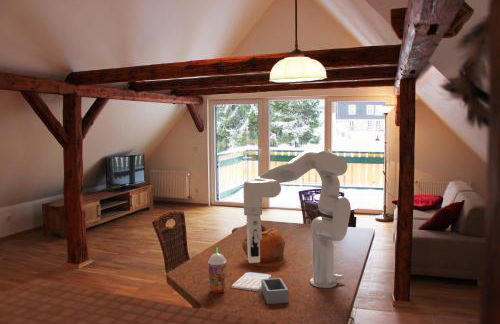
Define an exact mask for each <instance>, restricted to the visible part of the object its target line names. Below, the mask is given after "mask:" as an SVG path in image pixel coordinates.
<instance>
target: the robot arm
mask: <svg viewBox="0 0 500 324" xmlns="http://www.w3.org/2000/svg"><path fill="white" fill-rule="evenodd" d="M313 169H314V170H315V171H316V172H317V174H318V175H319V177H320V180H321V188H320V194H319V199H318V206H317V207H318V211H319V212H320V214H321V213H322V214H323V215H327V216H331V217H326V216H317V217H315V218H314V219H312V221H311V224H310V231H311V236H312V246H313V247H312V248H313V250H312V252H313V253H312V260H313V261H312V262H313V263H312V268H313V269H312V271H313V272H312V274H313V275H312V276H313V277H312V278H310V280H309V284H310V285H311V286H314V287H316V288H320V289H329V288H334V287H336V286H337V285H338V280H344V279H345V275H344V274H339V273H334V272H335V270H334V268H335V267H334V266H335V261H334V260H335V258H334V257H335V255H334V252H335V247H334V243H333V241H334V242H342V241H343V240H344V239H345V237H346V235H347V231H348V227H349V222H350V218H351V212H352V208H351V202H350V200H349V199H348V198H347V197H345V196H341V195H340V191H341V189H340V188H341V183H340V180H339V179H340V178H339V176H340V177H341V176H343V175H344V174H346V172H347V170H348V163H347V161H346V159H345V158H343V157H342V156H339V155H337V154H334V153H331V152H330V151H326V150H323V149H306V150H304V151H302V152H301V153H300V154H298V155H296V156H295V157H293V158H292V159H291V160H289V161H288V162H285V163H284V164H280V165H279V166H276V167H274V168H271V169H269V170H267V171H264V172H263V173H262V174H260V175H259V176H257V177H256V178H255V179H254V180H246V181H244V182H243V215H244V216H246V233H247V232H248V234H249V238H250V240H251V257H257V256H259V246H258V238H259V239H260V240H261V239H262V231H261V224H262V219H261V216H262V215H263V198H267V199H268V198H269V199H270V198H276V197H278V196H279V195H280V194H281V191H282V186H281V184H283V183H289V182H290V183H291V182H294V181H296V180H299V179H300V178H301V177H302V176H304V175H305V174H306V173H308V172H309V171H311V170H313ZM252 238H254V239H252ZM253 241H254V242H253Z"/></svg>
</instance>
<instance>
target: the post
mask: <svg viewBox="0 0 500 324" xmlns="http://www.w3.org/2000/svg"><path fill="white" fill-rule="evenodd" d="M246 235H247V236H246V237H247V247H248V258H247V262H248V261H249V262H248V263H249V264H250V263H256V262H260V239H259V238H258V246H259V256H257V257H251V240H250V238H249V234H248V232H247V231H246ZM252 239H254V238H252ZM253 242H254V241H253Z"/></svg>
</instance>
